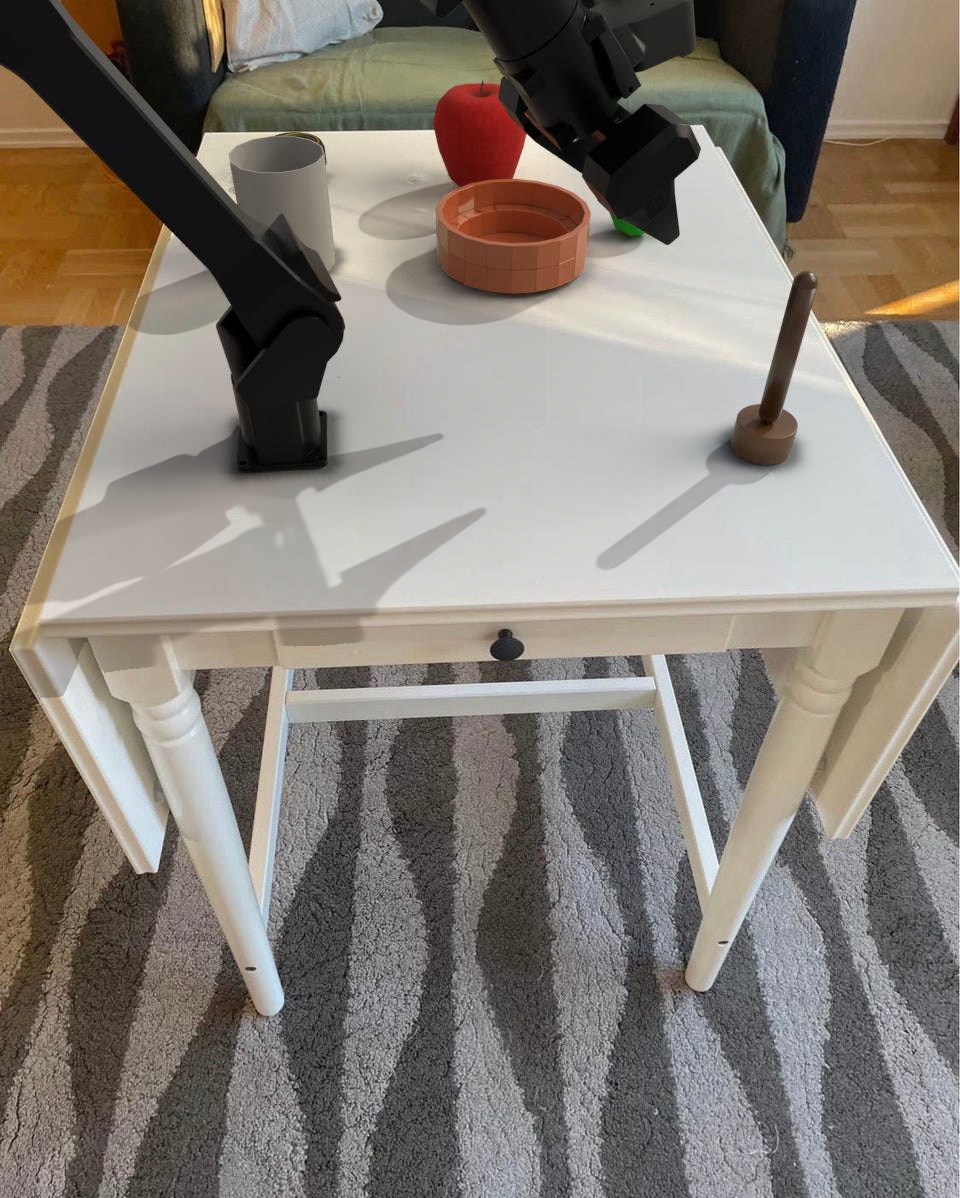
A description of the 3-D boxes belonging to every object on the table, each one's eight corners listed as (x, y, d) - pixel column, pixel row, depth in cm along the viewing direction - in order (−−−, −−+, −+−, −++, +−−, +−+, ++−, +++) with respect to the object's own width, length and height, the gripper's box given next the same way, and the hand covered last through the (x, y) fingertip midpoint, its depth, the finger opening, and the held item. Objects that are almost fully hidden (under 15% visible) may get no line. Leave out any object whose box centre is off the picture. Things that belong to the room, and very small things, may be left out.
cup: (318, 287, 88) (305, 177, 81) (234, 277, 89) (213, 168, 82) (345, 246, 93) (335, 140, 86) (266, 237, 95) (249, 132, 87)
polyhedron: (621, 247, 94) (627, 199, 91) (598, 226, 97) (603, 178, 94) (665, 239, 95) (673, 191, 92) (641, 218, 99) (648, 171, 95)
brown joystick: (798, 463, 70) (854, 287, 60) (740, 467, 70) (787, 290, 60) (778, 428, 73) (828, 254, 63) (723, 431, 73) (764, 257, 63)
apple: (528, 172, 106) (533, 65, 98) (522, 209, 100) (527, 98, 92) (441, 168, 107) (439, 61, 99) (428, 204, 100) (425, 93, 92)
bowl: (598, 294, 87) (604, 242, 84) (444, 302, 86) (444, 249, 83) (570, 225, 97) (574, 176, 94) (431, 231, 96) (430, 181, 92)
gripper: (727, -38, 49) (811, 185, 61) (576, -110, 61) (670, 88, 73) (557, 115, 52) (669, 302, 63) (444, 17, 64) (555, 189, 75)
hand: (642, 212), depth 68 cm, fingers open, 9 cm apart
